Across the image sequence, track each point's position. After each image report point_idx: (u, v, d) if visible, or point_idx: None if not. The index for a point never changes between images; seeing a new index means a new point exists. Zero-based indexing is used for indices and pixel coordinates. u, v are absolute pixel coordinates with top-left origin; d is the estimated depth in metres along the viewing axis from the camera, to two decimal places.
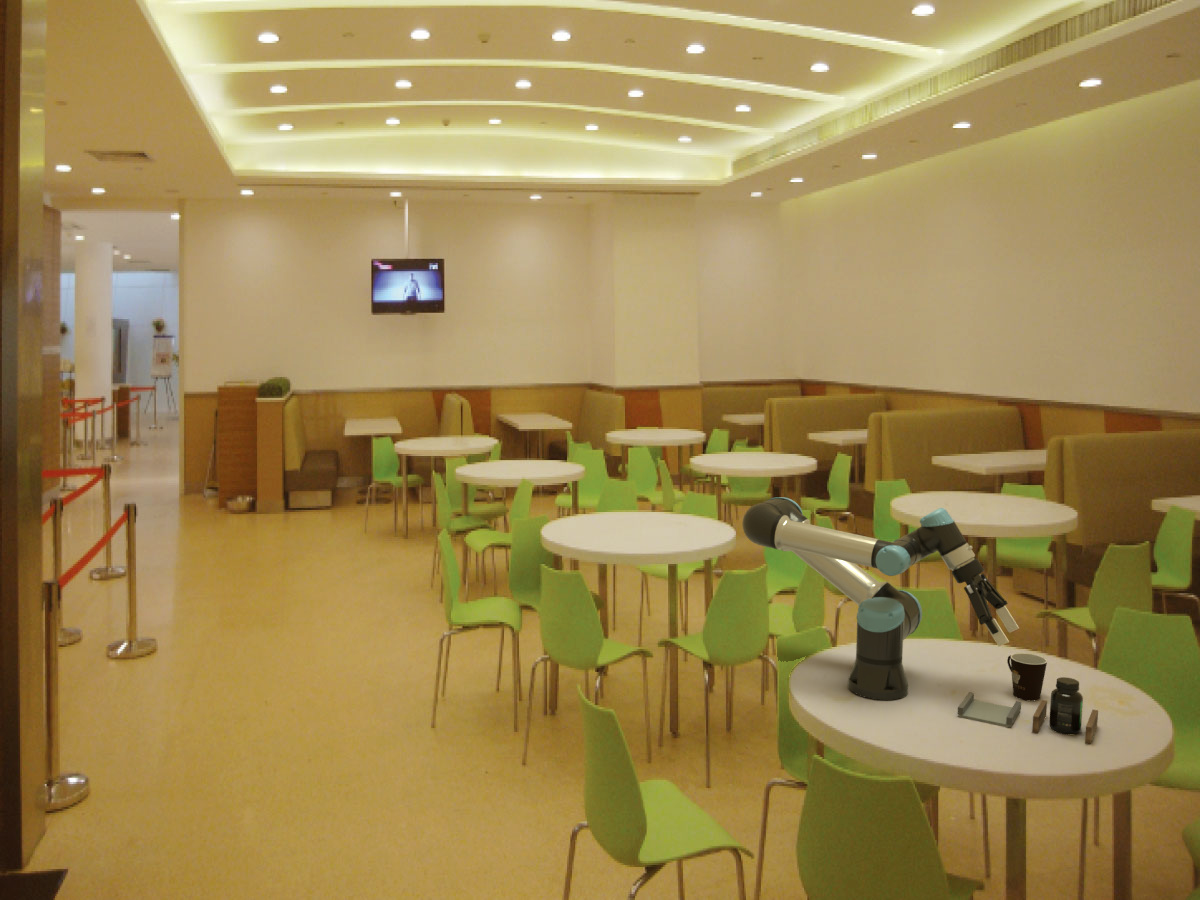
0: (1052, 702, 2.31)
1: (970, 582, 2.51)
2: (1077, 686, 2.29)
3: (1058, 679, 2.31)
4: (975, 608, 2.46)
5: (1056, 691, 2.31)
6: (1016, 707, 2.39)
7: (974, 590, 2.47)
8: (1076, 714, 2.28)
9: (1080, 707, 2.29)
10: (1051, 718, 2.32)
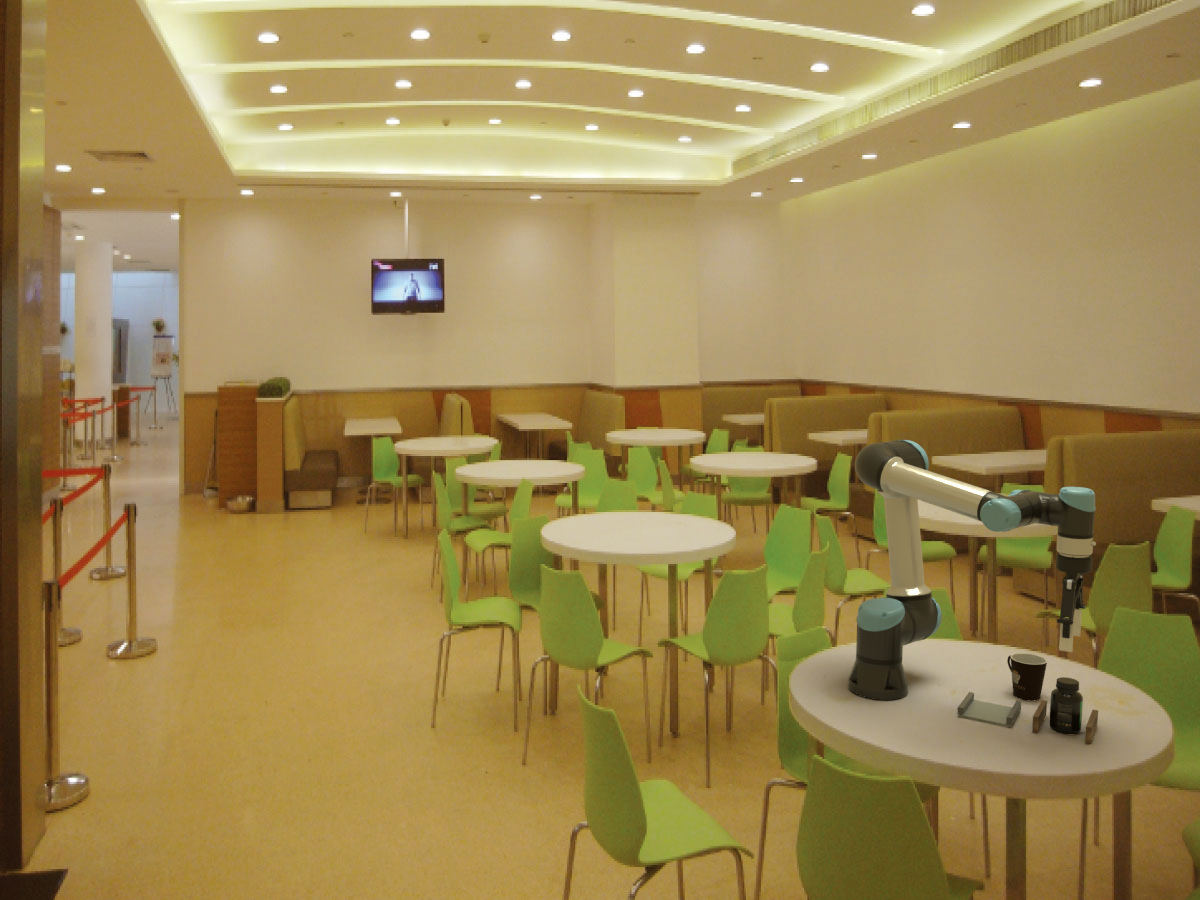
0: (1052, 702, 2.31)
1: (1072, 577, 2.25)
2: (1077, 686, 2.29)
3: (1058, 679, 2.31)
4: (1063, 606, 2.22)
5: (1056, 691, 2.31)
6: (1016, 707, 2.39)
7: (1073, 588, 2.22)
8: (1076, 713, 2.28)
9: (1080, 707, 2.29)
10: (1051, 718, 2.32)
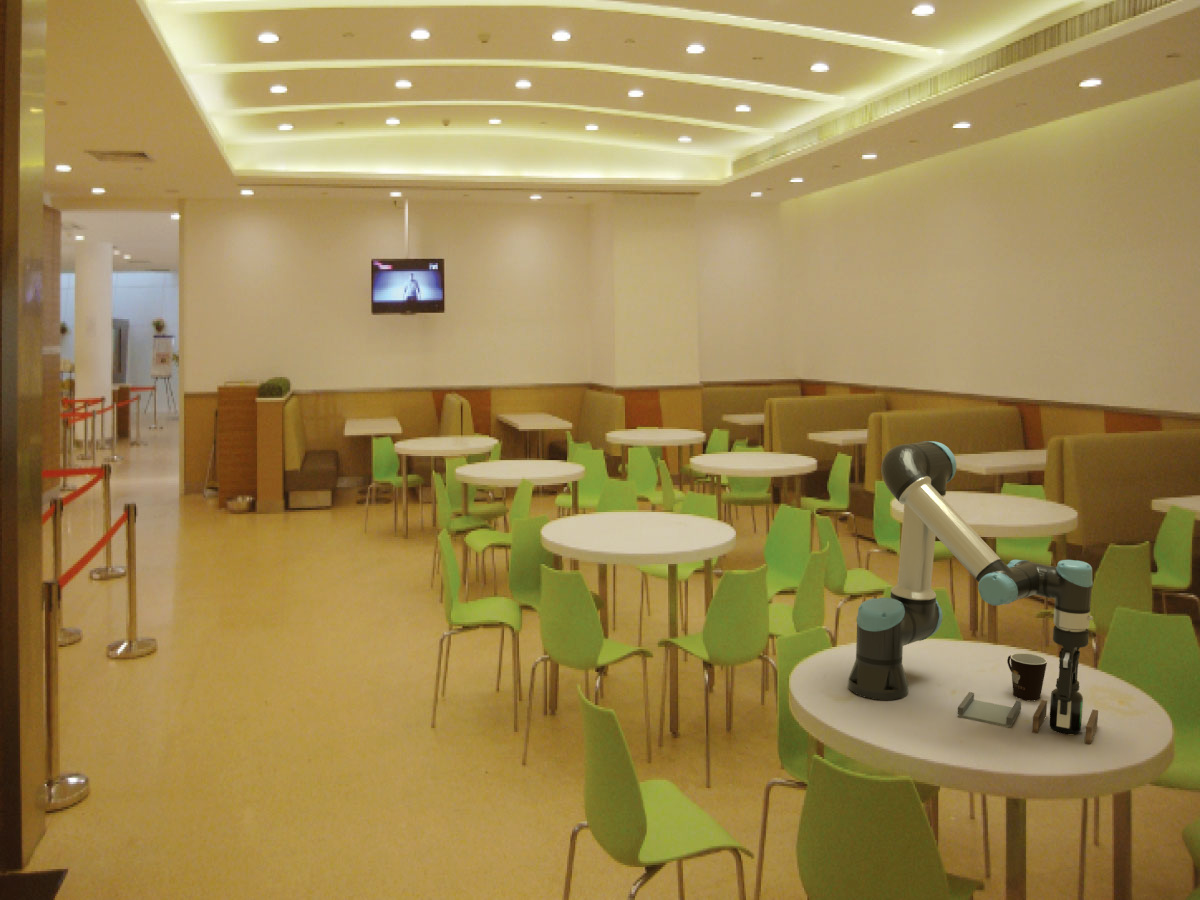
0: (1052, 702, 2.31)
1: (1068, 650, 2.26)
2: (1077, 686, 2.29)
3: (1058, 679, 2.31)
4: (1060, 684, 2.25)
5: (1056, 691, 2.31)
6: (1016, 707, 2.39)
7: (1069, 668, 2.24)
8: (1076, 713, 2.28)
9: (1080, 707, 2.29)
10: (1051, 718, 2.32)
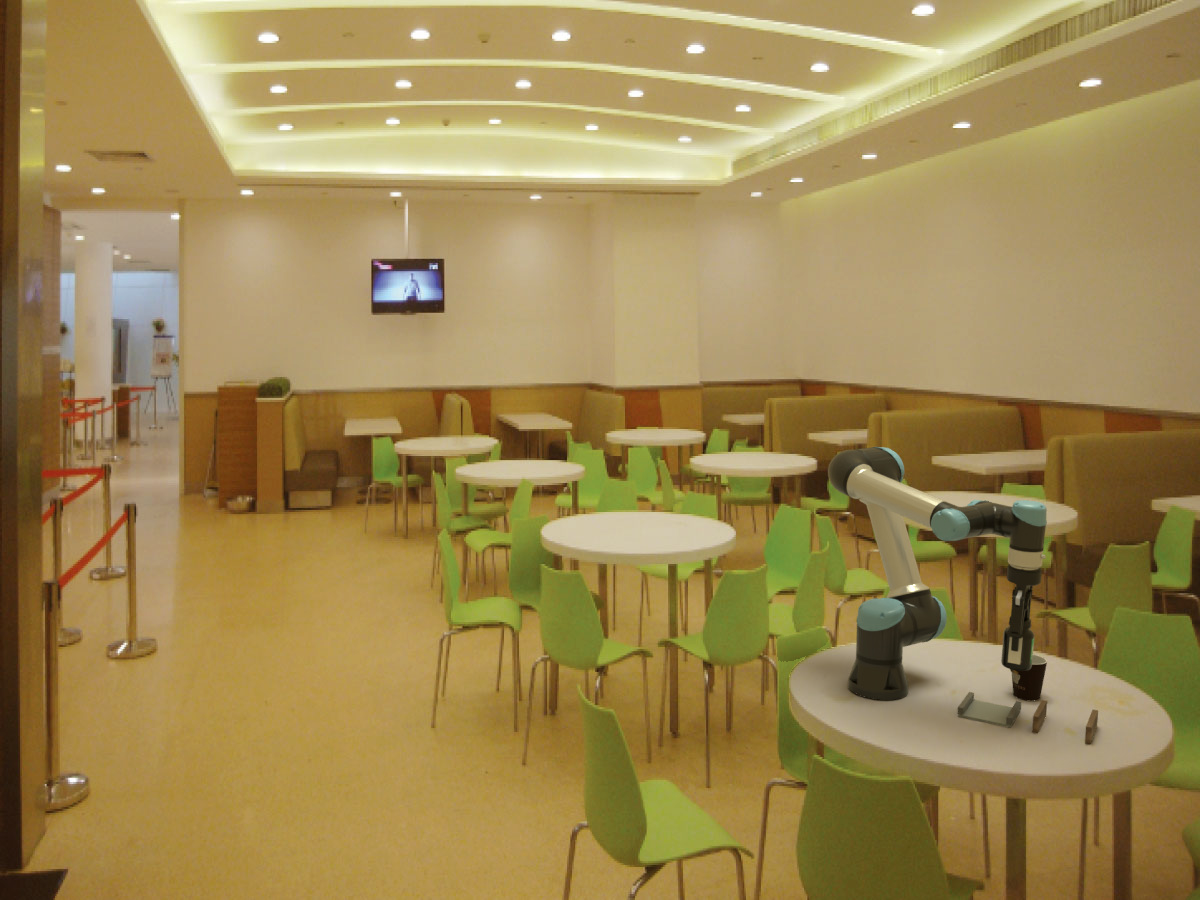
0: (1004, 639, 2.36)
1: (1021, 588, 2.31)
2: (1029, 623, 2.34)
3: None
4: (1012, 621, 2.30)
5: (1009, 628, 2.36)
6: (1016, 707, 2.39)
7: (1021, 605, 2.29)
8: (1028, 650, 2.33)
9: (1031, 644, 2.33)
10: (1003, 655, 2.37)
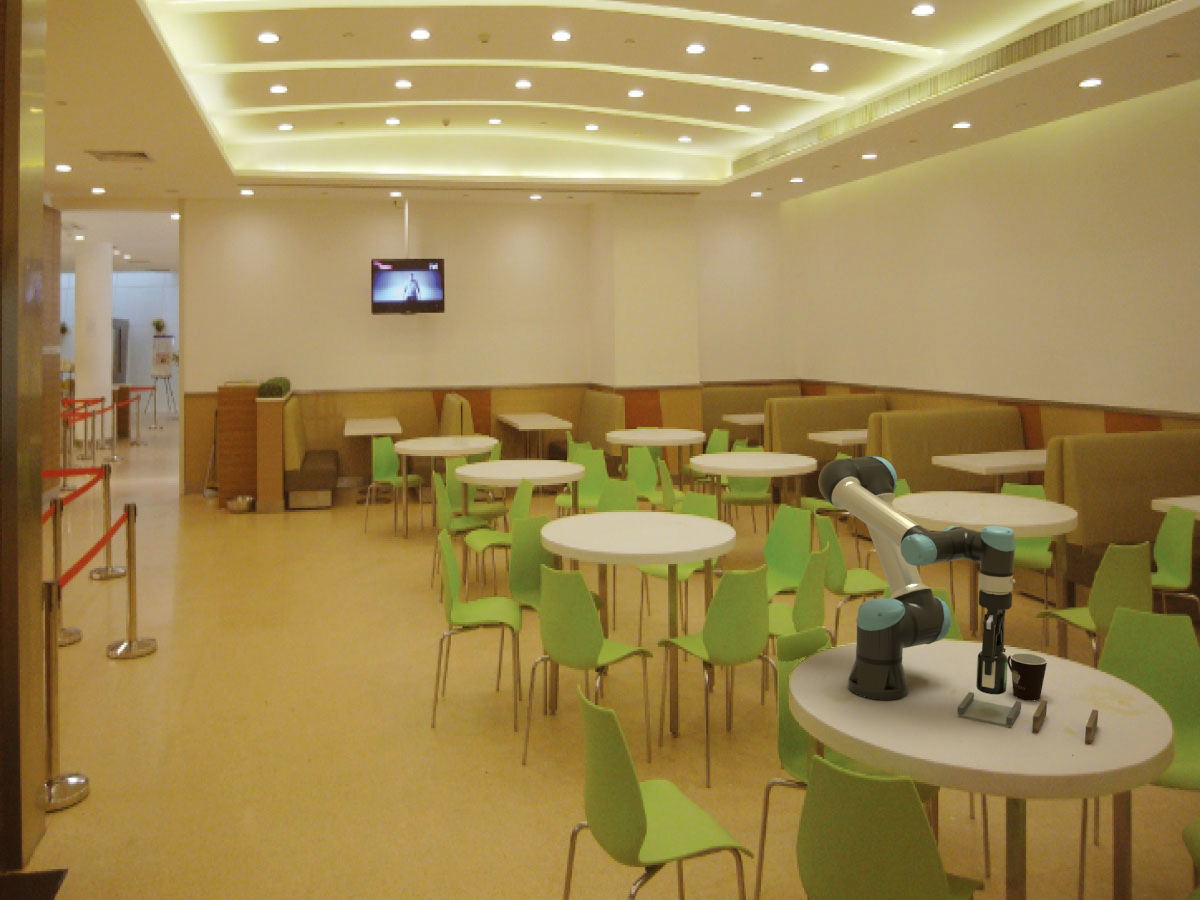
0: (978, 663, 2.39)
1: (992, 613, 2.35)
2: (1001, 647, 2.37)
3: None
4: (984, 645, 2.34)
5: None
6: (1016, 707, 2.39)
7: (992, 629, 2.33)
8: (1001, 674, 2.37)
9: (1004, 667, 2.37)
10: (977, 679, 2.40)
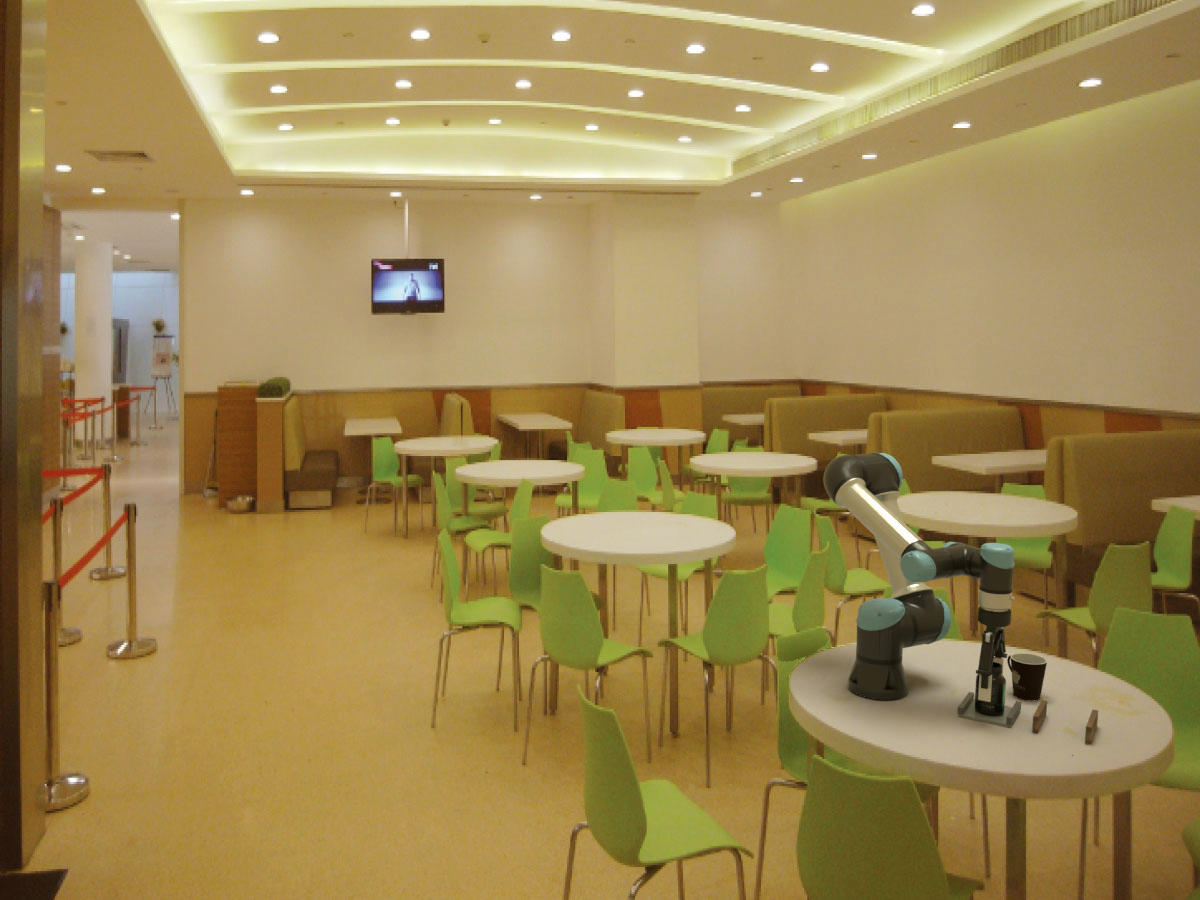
0: (976, 685, 2.40)
1: (991, 630, 2.35)
2: (1000, 669, 2.38)
3: None
4: (981, 658, 2.32)
5: None
6: (1016, 707, 2.39)
7: (991, 641, 2.33)
8: (999, 696, 2.38)
9: (1003, 690, 2.38)
10: (976, 700, 2.41)
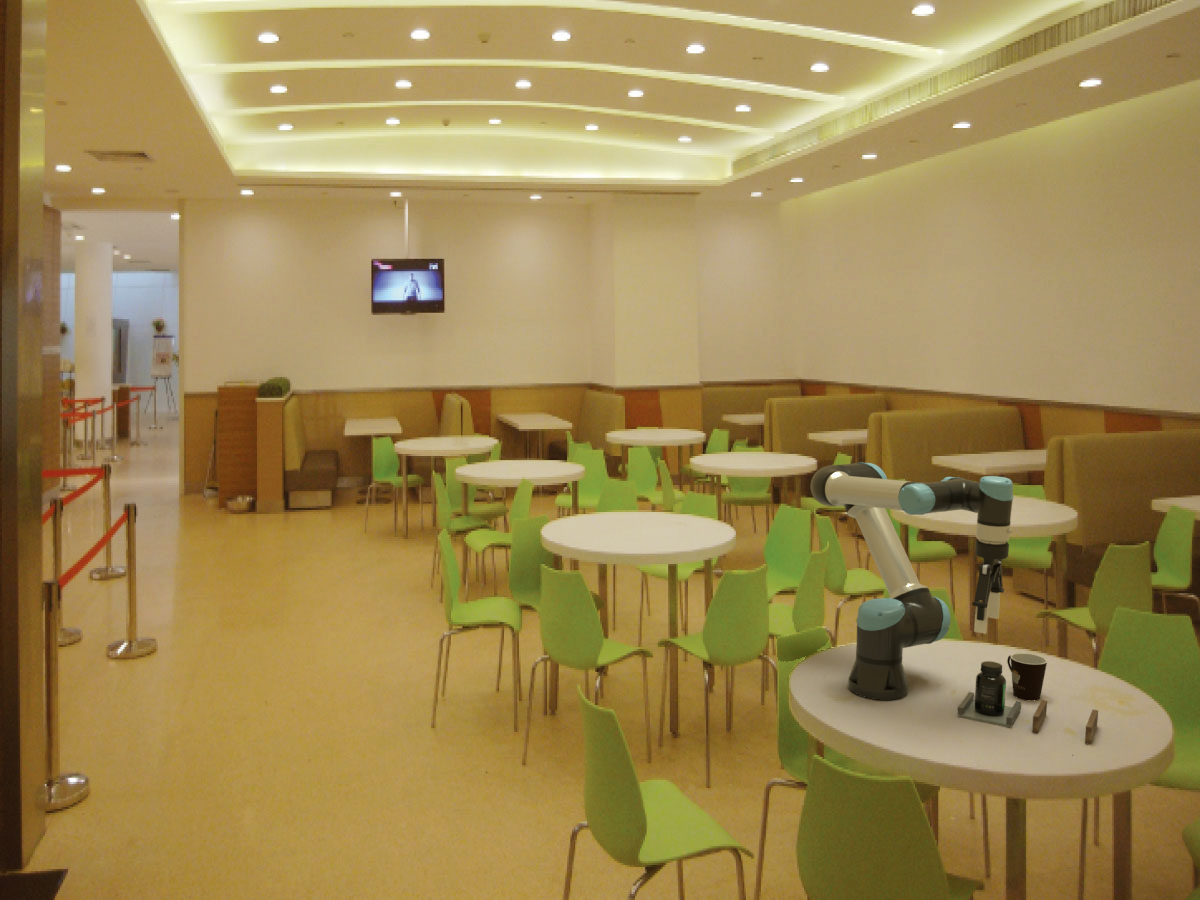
0: (977, 685, 2.40)
1: (988, 562, 2.35)
2: (1000, 669, 2.38)
3: (982, 663, 2.41)
4: (978, 589, 2.32)
5: (980, 674, 2.40)
6: (1016, 707, 2.39)
7: (988, 573, 2.32)
8: (999, 696, 2.38)
9: (1003, 690, 2.38)
10: (976, 700, 2.41)
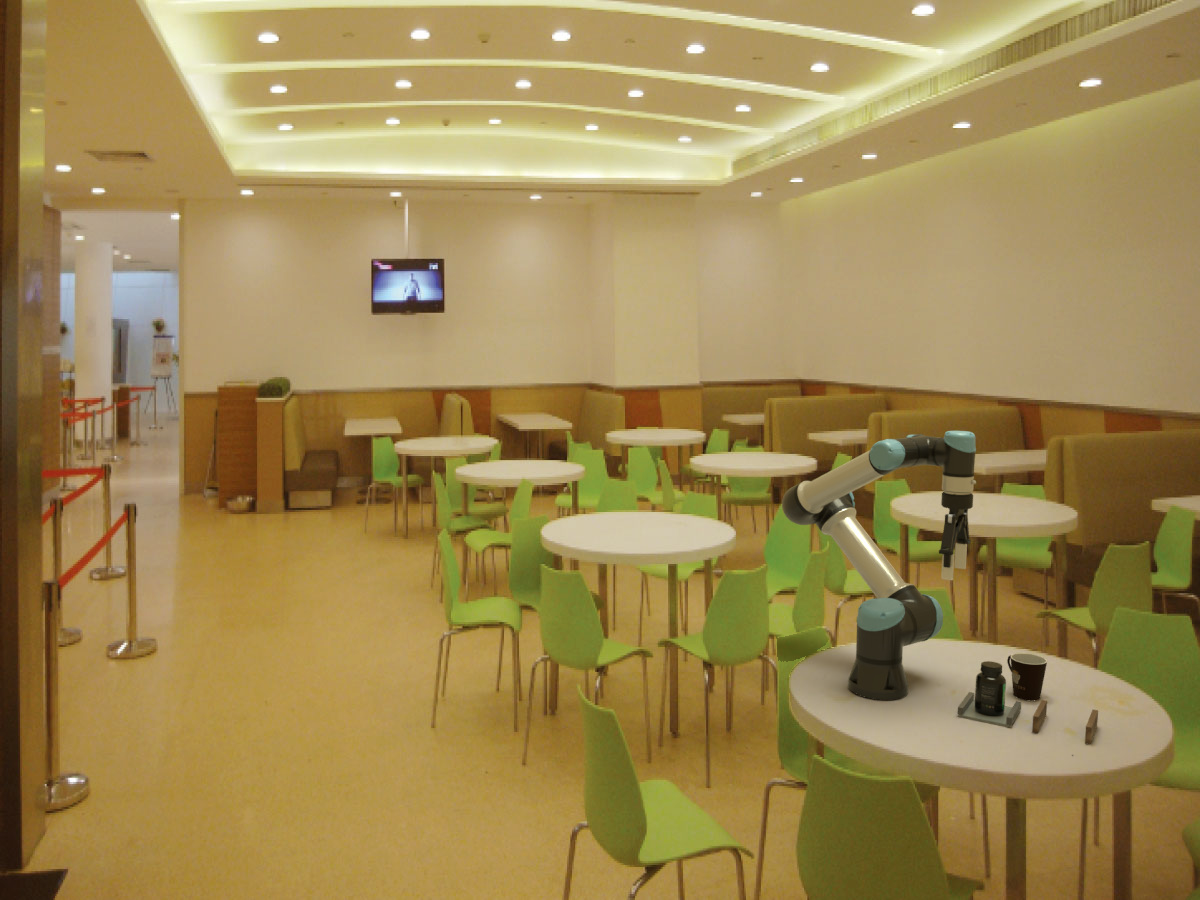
0: (977, 685, 2.40)
1: (953, 512, 2.46)
2: (1000, 669, 2.38)
3: (982, 663, 2.41)
4: (944, 538, 2.43)
5: (980, 674, 2.40)
6: (1016, 707, 2.39)
7: (953, 522, 2.43)
8: (999, 696, 2.38)
9: (1003, 690, 2.38)
10: (976, 700, 2.41)
